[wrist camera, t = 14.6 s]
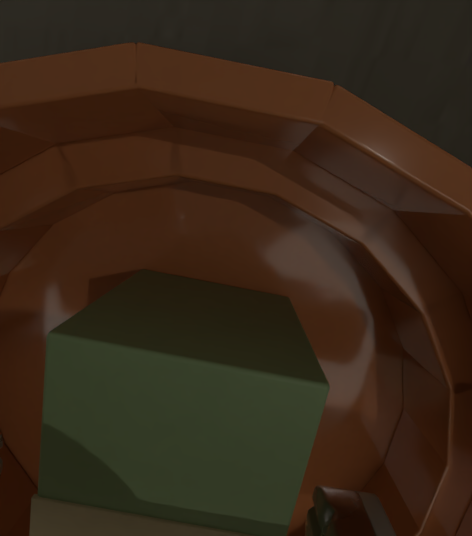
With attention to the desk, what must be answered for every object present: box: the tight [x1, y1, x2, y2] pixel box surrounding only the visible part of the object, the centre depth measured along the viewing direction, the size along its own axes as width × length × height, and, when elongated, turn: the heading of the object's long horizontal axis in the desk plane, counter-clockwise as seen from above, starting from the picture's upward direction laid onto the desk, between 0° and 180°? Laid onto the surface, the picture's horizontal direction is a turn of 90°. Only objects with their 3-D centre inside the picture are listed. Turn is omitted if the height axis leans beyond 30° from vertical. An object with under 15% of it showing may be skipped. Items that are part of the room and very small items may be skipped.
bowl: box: [0, 42, 472, 536], centre depth 9 cm, size 18×18×6 cm
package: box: [29, 269, 330, 536], centre depth 9 cm, size 5×9×5 cm, turn 169°
